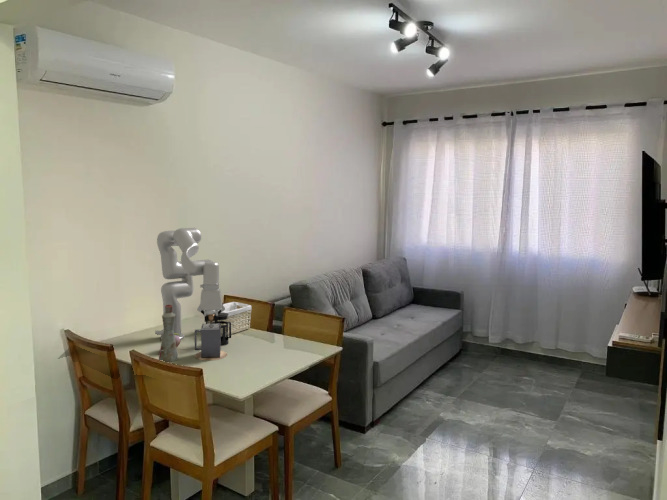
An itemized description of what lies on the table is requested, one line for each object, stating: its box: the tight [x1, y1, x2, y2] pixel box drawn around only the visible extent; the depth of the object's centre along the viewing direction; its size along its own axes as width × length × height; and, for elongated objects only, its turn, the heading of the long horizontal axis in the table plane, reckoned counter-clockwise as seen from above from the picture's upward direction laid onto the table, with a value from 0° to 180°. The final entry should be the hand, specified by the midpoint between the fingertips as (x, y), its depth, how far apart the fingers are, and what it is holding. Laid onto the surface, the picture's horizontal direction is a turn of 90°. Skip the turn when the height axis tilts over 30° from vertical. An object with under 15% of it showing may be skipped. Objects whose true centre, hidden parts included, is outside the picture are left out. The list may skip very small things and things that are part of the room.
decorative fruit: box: [174, 333, 181, 349], centre depth 261 cm, size 9×8×10 cm
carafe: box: [194, 323, 222, 358], centre depth 253 cm, size 12×9×15 cm
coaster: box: [194, 350, 228, 362], centre depth 254 cm, size 16×16×1 cm
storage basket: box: [207, 301, 252, 336], centre depth 299 cm, size 24×16×15 cm
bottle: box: [158, 304, 179, 363], centre depth 245 cm, size 9×9×28 cm
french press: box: [212, 302, 232, 347], centre depth 272 cm, size 12×9×23 cm
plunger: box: [207, 314, 215, 327], centre depth 253 cm, size 6×6×19 cm
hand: (211, 322), depth 252 cm, fingers closed on plunger, 3 cm apart
